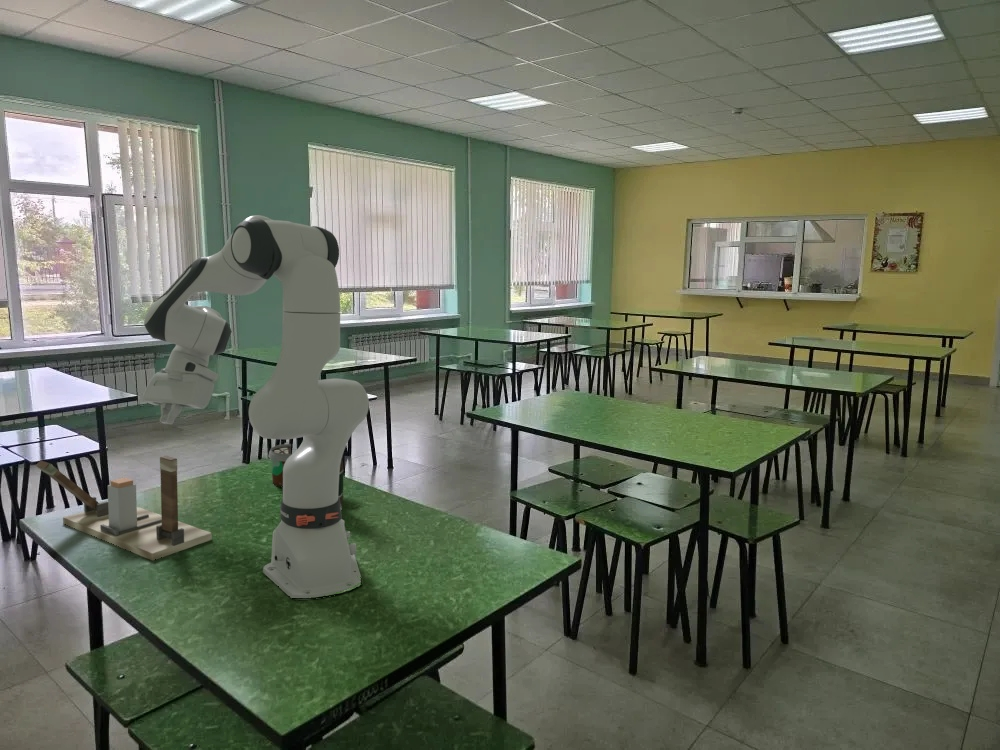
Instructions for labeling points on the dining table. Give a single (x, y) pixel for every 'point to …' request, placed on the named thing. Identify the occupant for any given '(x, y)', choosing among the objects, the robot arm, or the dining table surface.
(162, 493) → the brown lever
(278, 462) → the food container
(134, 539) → the panel
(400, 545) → the dining table surface
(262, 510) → the dining table surface
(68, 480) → the wooden stick
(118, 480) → the slider
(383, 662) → the dining table surface
